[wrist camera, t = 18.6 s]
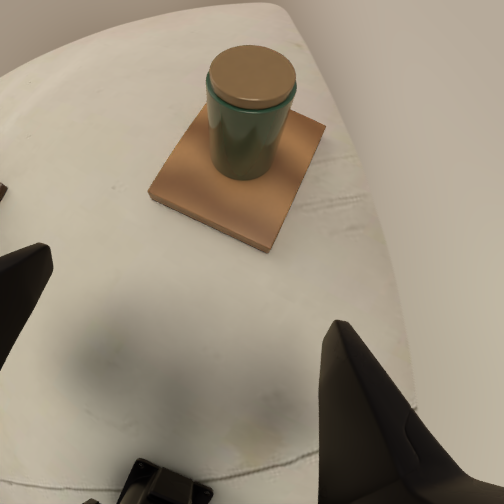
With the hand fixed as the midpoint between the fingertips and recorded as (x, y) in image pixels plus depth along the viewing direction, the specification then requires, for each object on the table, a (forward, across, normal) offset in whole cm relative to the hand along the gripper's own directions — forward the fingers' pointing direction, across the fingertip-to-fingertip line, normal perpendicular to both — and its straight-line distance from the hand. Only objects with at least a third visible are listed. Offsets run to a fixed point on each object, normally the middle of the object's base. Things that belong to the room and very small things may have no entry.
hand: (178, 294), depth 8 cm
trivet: (+18, 0, +1) cm, 18 cm away
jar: (+17, 0, 0) cm, 17 cm away
